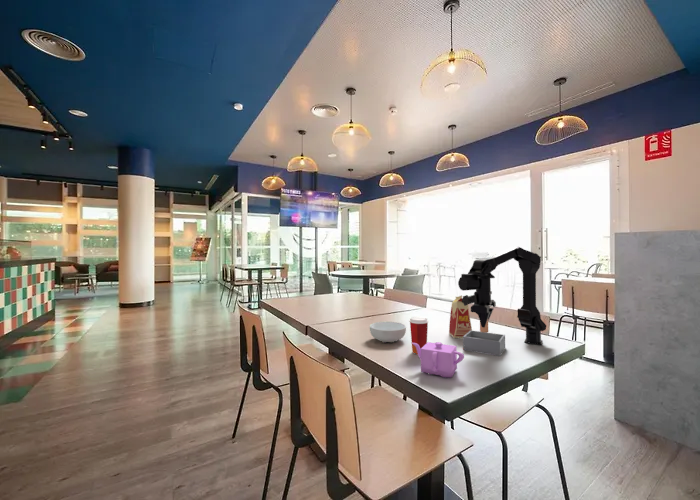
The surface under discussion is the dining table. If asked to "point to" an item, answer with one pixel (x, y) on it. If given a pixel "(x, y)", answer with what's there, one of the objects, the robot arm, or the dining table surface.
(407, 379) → the dining table surface
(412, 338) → the paper cup
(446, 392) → the dining table surface
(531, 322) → the robot arm
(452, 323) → the milk carton
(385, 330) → the cereal bowl
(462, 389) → the dining table surface
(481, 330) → the peg
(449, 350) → the teapot
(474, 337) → the box
